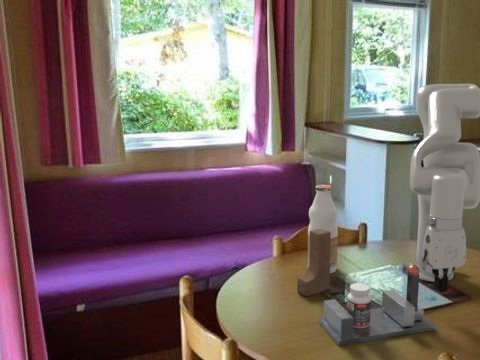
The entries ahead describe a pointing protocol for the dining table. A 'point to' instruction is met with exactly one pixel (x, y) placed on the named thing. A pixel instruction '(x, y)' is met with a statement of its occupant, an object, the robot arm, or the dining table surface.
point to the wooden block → (316, 264)
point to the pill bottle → (359, 305)
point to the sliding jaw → (404, 301)
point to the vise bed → (379, 327)
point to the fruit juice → (324, 220)
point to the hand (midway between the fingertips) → (440, 290)
